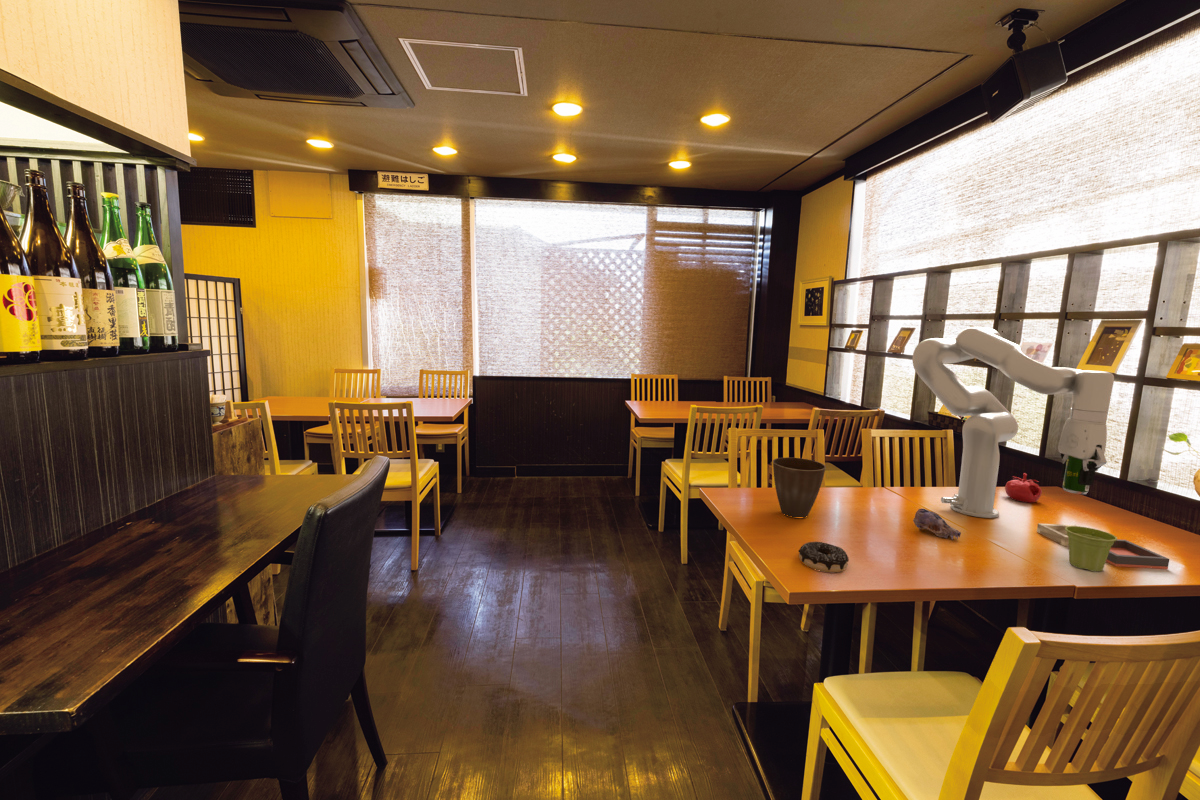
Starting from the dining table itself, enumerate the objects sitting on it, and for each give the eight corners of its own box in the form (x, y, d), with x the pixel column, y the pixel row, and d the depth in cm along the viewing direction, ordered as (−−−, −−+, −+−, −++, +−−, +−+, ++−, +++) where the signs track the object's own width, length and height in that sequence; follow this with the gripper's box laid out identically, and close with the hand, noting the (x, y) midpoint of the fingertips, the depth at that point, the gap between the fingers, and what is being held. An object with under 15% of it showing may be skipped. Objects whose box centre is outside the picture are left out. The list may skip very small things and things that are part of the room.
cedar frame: (1064, 546, 144) (1065, 537, 143) (1036, 531, 154) (1037, 523, 153) (1104, 548, 143) (1106, 539, 142) (1074, 533, 153) (1075, 525, 153)
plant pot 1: (831, 517, 161) (836, 466, 158) (801, 527, 152) (805, 472, 150) (789, 503, 173) (793, 455, 171) (759, 511, 164) (762, 460, 162)
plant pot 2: (1050, 558, 135) (1054, 525, 134) (1084, 558, 136) (1089, 525, 135) (1086, 575, 126) (1092, 540, 125) (1122, 575, 127) (1128, 540, 126)
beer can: (1089, 492, 146) (1097, 449, 145) (1085, 495, 143) (1093, 452, 141) (1064, 487, 151) (1071, 445, 149) (1059, 490, 147) (1066, 448, 145)
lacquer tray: (1115, 566, 132) (1116, 556, 131) (1076, 546, 143) (1077, 537, 143) (1167, 569, 131) (1169, 559, 130) (1124, 549, 143) (1125, 539, 142)
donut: (842, 557, 133) (843, 541, 132) (853, 578, 122) (854, 561, 121) (795, 551, 135) (796, 536, 135) (801, 572, 124) (803, 556, 124)
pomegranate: (1001, 499, 184) (1003, 473, 183) (1007, 494, 191) (1010, 468, 190) (1037, 506, 177) (1040, 479, 176) (1043, 500, 184) (1045, 474, 182)
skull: (965, 540, 146) (968, 519, 145) (946, 544, 143) (949, 522, 142) (925, 525, 157) (927, 505, 156) (906, 528, 154) (908, 507, 153)
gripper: (1049, 410, 152) (1039, 471, 155) (1099, 421, 136) (1087, 490, 138) (1077, 411, 152) (1066, 473, 155) (1131, 423, 135) (1118, 492, 138)
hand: (1076, 480), depth 146 cm, fingers closed on beer can, 5 cm apart
